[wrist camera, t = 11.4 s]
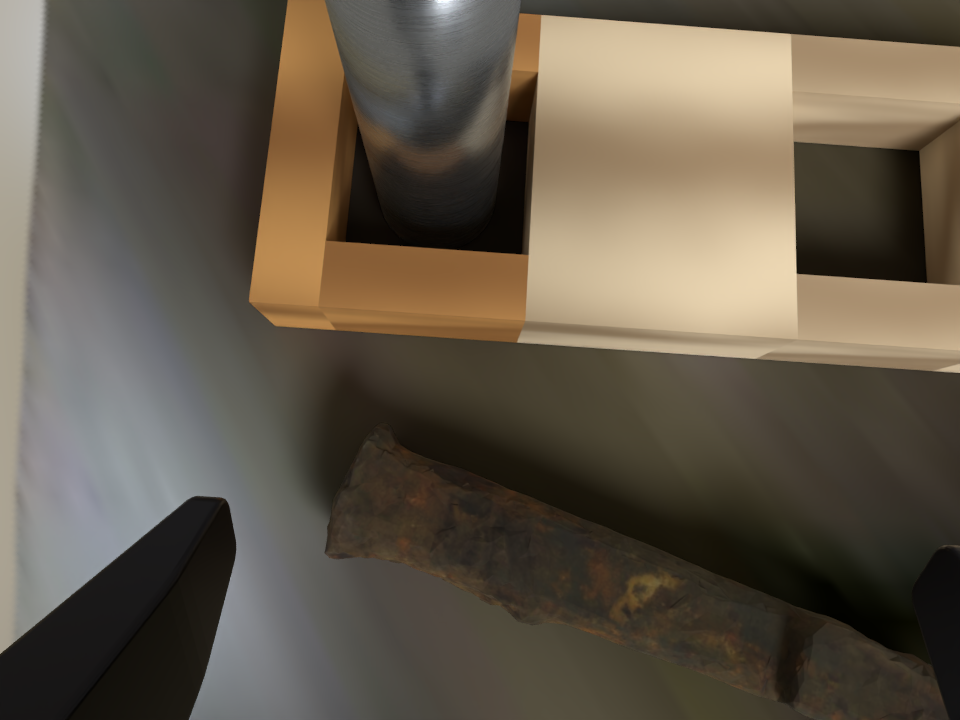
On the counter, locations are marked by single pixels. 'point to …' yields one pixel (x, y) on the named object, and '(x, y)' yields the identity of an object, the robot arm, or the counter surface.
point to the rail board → (633, 198)
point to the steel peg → (430, 107)
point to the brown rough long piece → (615, 588)
